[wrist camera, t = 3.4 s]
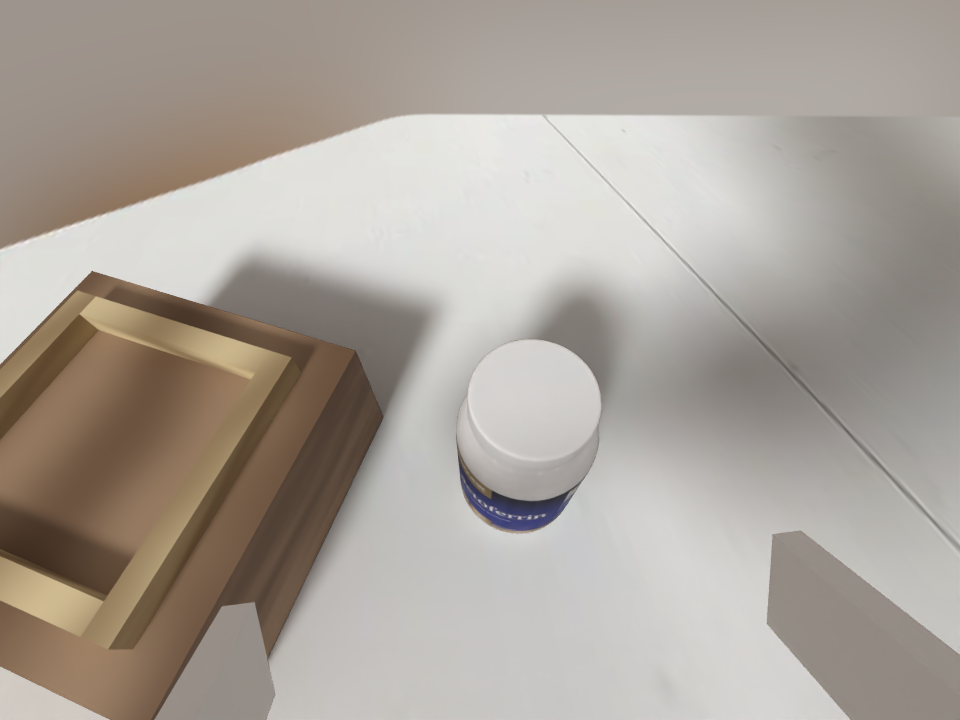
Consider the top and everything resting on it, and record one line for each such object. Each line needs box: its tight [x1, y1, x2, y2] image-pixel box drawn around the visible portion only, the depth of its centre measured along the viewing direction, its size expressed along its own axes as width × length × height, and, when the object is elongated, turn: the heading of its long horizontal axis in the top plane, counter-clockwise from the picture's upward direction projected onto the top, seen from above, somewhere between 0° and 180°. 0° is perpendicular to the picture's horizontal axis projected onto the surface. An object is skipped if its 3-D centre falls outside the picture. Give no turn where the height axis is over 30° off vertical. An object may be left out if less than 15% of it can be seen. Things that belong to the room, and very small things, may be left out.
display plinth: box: [0, 271, 383, 720], centre depth 21 cm, size 14×14×8 cm
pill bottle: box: [456, 339, 602, 534], centre depth 21 cm, size 6×6×10 cm
